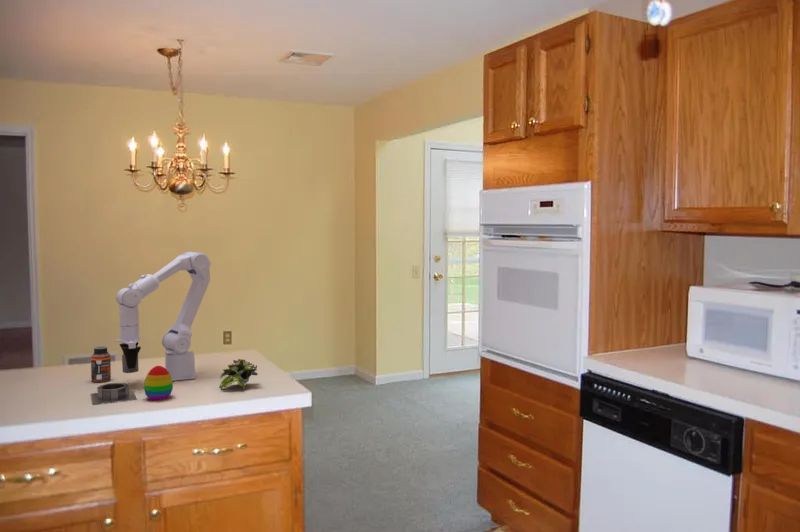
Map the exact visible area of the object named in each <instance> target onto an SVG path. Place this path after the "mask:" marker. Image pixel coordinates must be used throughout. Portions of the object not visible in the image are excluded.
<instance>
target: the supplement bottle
mask: <svg viewBox="0 0 800 532" xmlns="http://www.w3.org/2000/svg"><path fill="white" fill-rule="evenodd" d="M111 366H112V365H111V354H110V353H109V351H108V347H107V346H96V347H93V353H92V355H91V356H90V370H91V371H90V372H91V373H90V375H91V379H90V380H91V381H92V382H93V383H105V382H108V381H110V380H111V379H112V378H111V377H112V374H111V373H112V372H111V370H112V369H111Z"/></svg>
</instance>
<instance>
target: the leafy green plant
mask: <svg viewBox="0 0 800 532" xmlns="http://www.w3.org/2000/svg"><path fill="white" fill-rule="evenodd" d="M230 363H231V364H230ZM230 363H228V364H227V368H223V369H222V371H223V372H221V375H220V376H219V379H222V378H223V377H225V378H223V379H222V381H221V382H220V384H219V386H218V387H219V389H220V390H221V389H222V390H223V388H227V387H229V386H230V385H232V384H234V383H235V382H237V384H238V385H239V386H240V387H243V388H242V391H244V390H245V387H246V385H247V383H248V382H249V379H250V377H251V376H258V375H259V374H258V373H257V370H258V369H257V368H258V365H255V364H253V363H252V362H250V361H248V360H247V361H246V359H242V358H237V360H236V359H235V360H234V359H233V363H232V362H230Z"/></svg>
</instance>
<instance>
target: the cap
mask: <svg viewBox="0 0 800 532" xmlns="http://www.w3.org/2000/svg"><path fill="white" fill-rule="evenodd" d="M121 361H122V362H121V363H122V364H121V366H122V373H123V374H132V373H133V374H134V373H137V372H139V369H140V368H139V355H138V356H137V361H136V366H135V368H131V369H128V367H127V363H126V358H125V355H124V353H123V354H121Z"/></svg>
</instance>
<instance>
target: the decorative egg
mask: <svg viewBox="0 0 800 532" xmlns="http://www.w3.org/2000/svg"><path fill="white" fill-rule="evenodd" d="M144 379H145V380H144V382H143V383H144V385H143V388H144V393H145V396H146V397H147V398H148V400H150V401H156V400H157V401H164V400H166V399H168V398H169V397H170V396H171V394H172V392H173V388H174V387H173V386H174V381H172V378H171V375H170V373H169V372H168V371H167V370H166V369H165V366H161V365H156V366H154V367H152V368H151V369H150V370H149V371H148V372H147V375H146V376H145V378H144Z"/></svg>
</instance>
